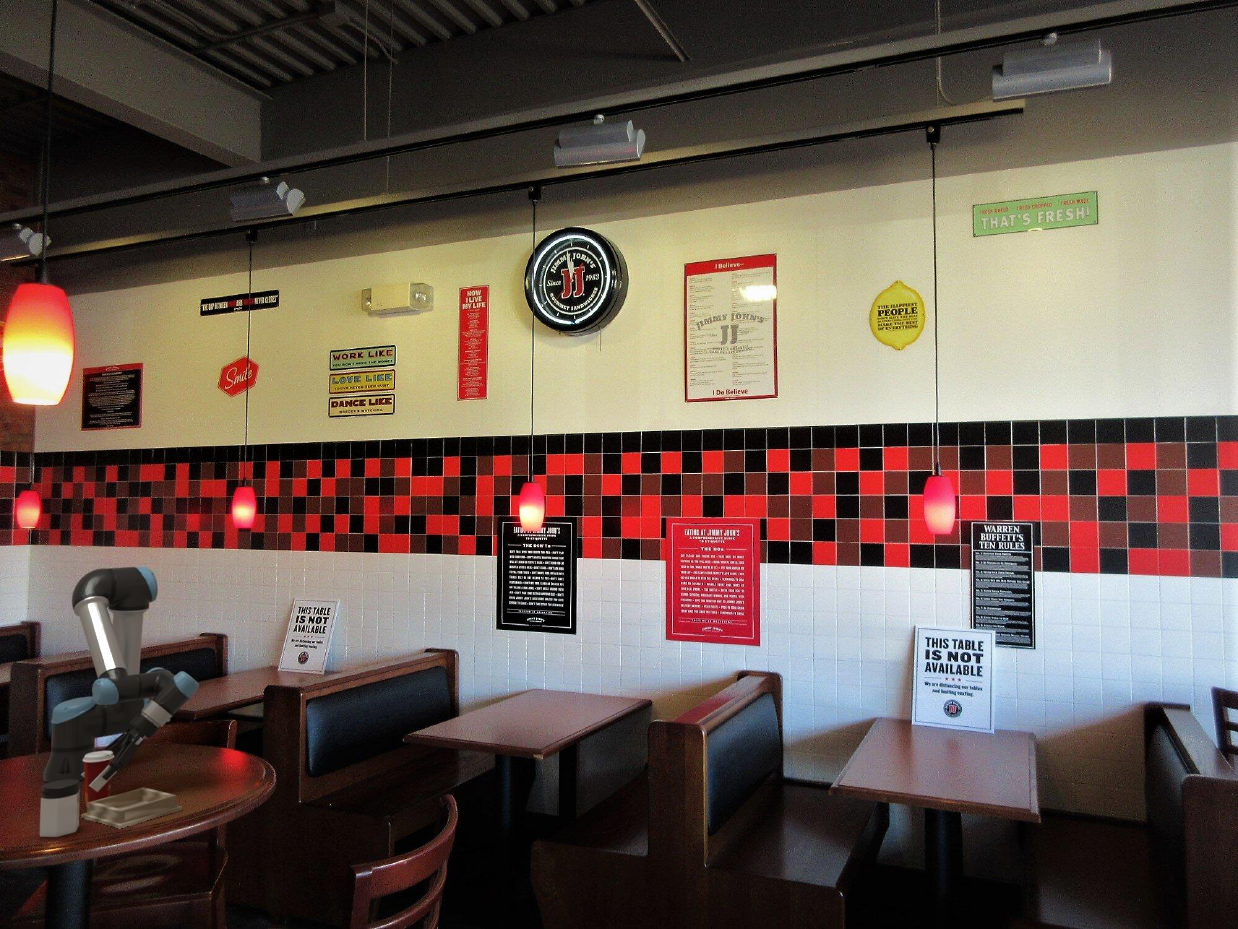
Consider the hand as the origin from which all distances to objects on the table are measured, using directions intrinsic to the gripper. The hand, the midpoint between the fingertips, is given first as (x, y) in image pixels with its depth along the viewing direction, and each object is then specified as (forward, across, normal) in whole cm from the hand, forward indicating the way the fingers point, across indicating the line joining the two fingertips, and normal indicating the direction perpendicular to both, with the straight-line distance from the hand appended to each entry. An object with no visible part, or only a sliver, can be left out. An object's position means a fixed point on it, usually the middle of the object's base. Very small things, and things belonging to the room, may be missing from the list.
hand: (88, 783), depth 242 cm
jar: (+11, -19, +2) cm, 22 cm away
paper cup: (+3, 0, -6) cm, 7 cm away
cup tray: (-1, -16, -10) cm, 19 cm away
